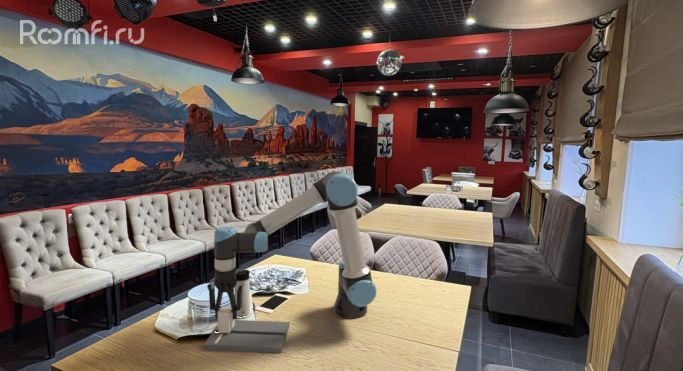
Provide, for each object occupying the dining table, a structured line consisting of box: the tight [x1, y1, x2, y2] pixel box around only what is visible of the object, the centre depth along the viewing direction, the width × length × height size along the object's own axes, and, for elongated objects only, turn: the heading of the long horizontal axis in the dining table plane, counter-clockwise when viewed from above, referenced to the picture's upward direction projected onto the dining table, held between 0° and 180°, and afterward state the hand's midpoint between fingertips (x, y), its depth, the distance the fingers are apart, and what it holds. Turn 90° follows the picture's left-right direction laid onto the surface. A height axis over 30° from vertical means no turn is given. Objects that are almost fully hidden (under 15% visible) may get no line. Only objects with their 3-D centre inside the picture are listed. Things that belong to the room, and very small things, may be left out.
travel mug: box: [233, 269, 251, 317], centre depth 149 cm, size 6×7×20 cm
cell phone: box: [254, 293, 292, 315], centre depth 162 cm, size 9×18×1 cm, turn 157°
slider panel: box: [203, 319, 291, 354], centre depth 133 cm, size 28×18×2 cm, turn 88°
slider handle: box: [218, 305, 232, 333], centre depth 133 cm, size 4×5×10 cm
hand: (226, 326), depth 133 cm, fingers closed on slider handle, 4 cm apart
